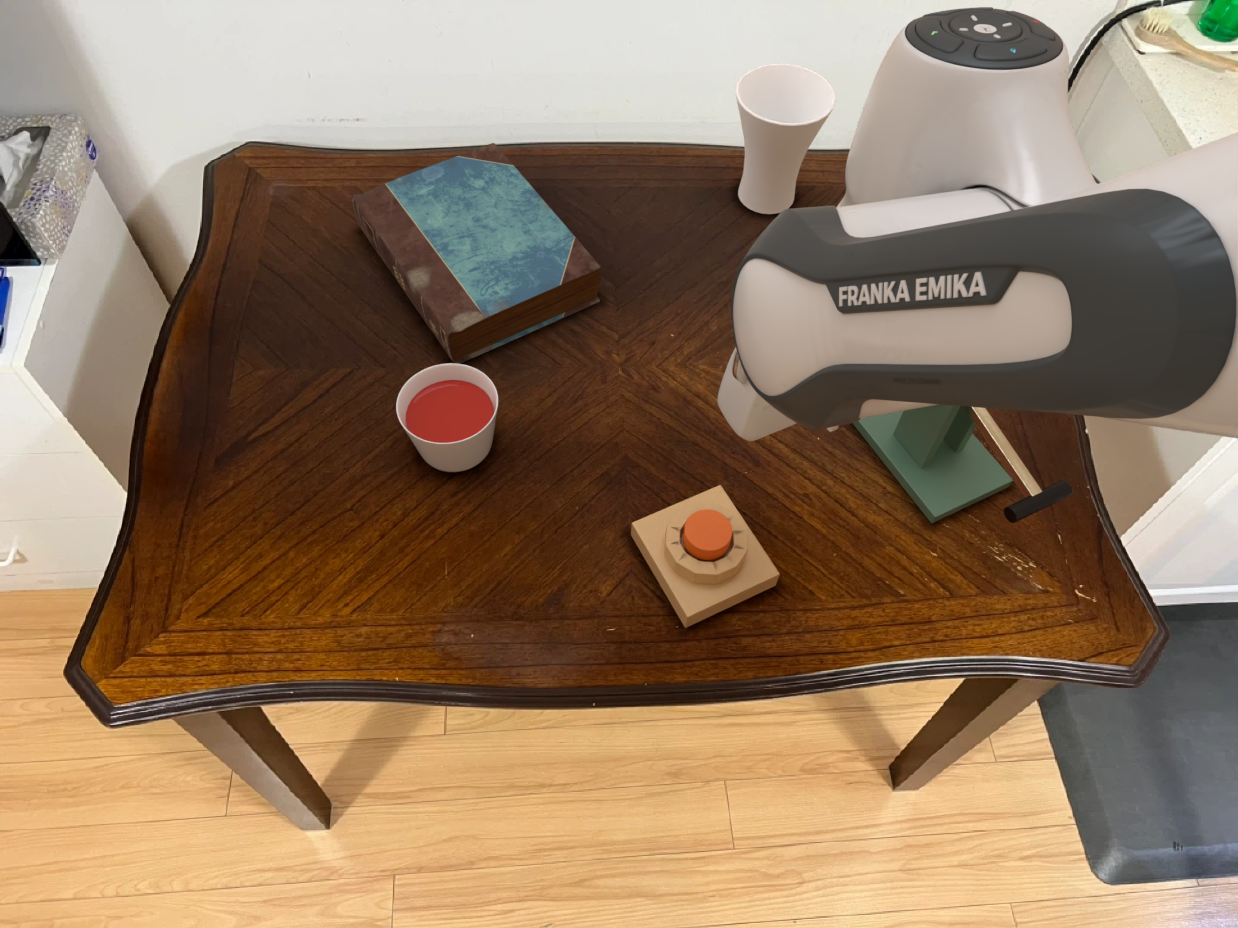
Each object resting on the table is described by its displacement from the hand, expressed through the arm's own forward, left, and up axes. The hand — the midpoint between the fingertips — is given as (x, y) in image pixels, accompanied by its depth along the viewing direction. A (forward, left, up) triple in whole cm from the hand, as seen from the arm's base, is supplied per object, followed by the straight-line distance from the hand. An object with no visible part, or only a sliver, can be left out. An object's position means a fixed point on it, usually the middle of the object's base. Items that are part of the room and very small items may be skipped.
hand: (840, 418), depth 68 cm
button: (+3, +7, -16) cm, 18 cm away
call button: (+3, +8, -20) cm, 21 cm away
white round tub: (+24, +22, -20) cm, 38 cm away
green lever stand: (+4, -17, -20) cm, 27 cm away
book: (+45, +12, -20) cm, 50 cm away
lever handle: (-1, -18, -12) cm, 21 cm away
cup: (+41, -23, -20) cm, 51 cm away
